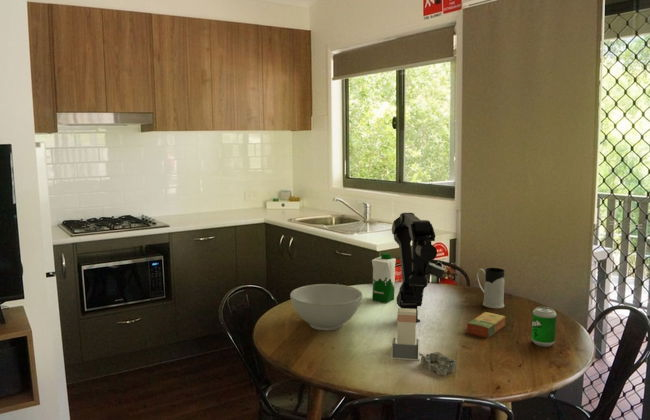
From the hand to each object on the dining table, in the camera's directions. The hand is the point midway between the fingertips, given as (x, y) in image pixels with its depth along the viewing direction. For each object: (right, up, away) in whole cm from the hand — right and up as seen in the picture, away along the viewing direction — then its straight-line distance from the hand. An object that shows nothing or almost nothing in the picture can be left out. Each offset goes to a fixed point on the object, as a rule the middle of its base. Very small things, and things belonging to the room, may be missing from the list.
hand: (419, 299), depth 199 cm
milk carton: (-9, -7, +42) cm, 44 cm away
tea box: (-6, -14, -9) cm, 18 cm away
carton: (+26, -13, +8) cm, 29 cm away
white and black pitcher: (+35, -8, +38) cm, 53 cm away
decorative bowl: (-33, -12, +12) cm, 37 cm away
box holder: (-7, -15, -12) cm, 20 cm away
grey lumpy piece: (+1, -17, -26) cm, 31 cm away
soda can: (+41, -14, -6) cm, 44 cm away
